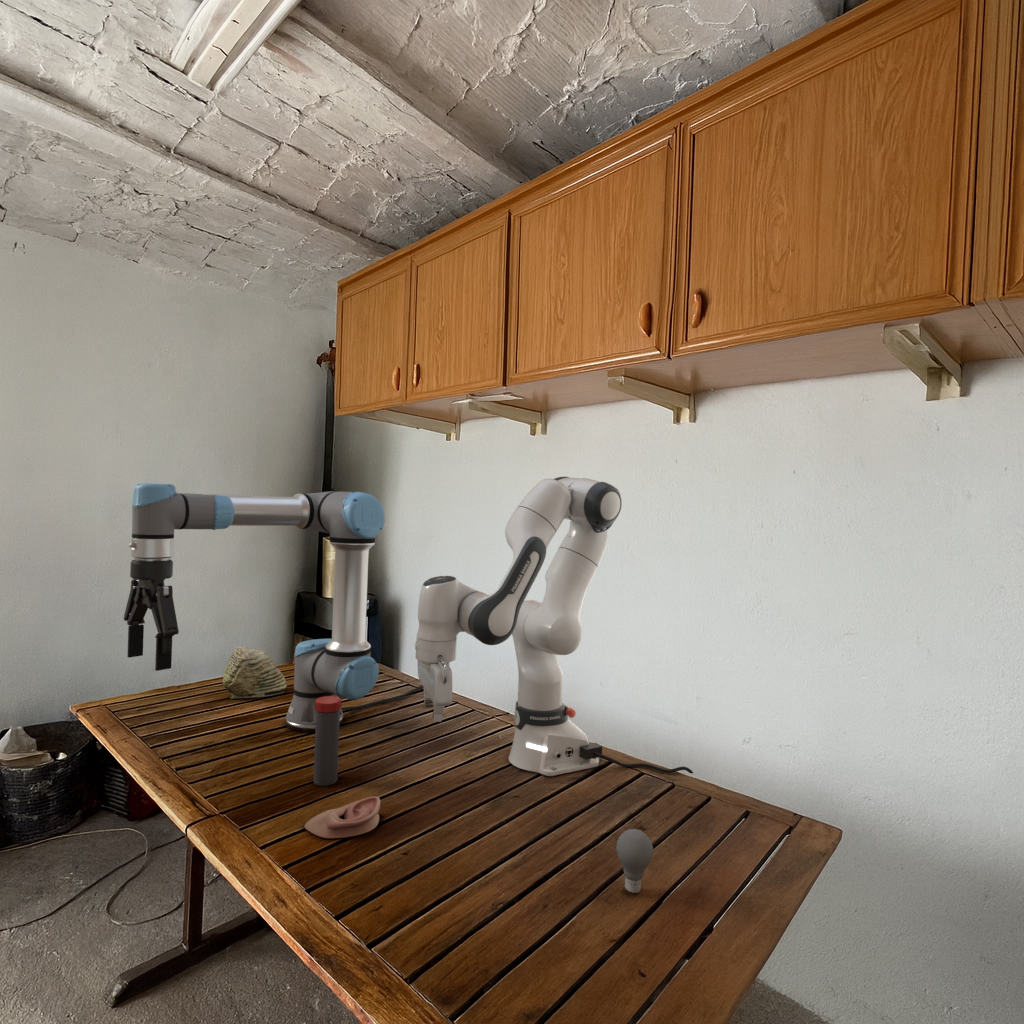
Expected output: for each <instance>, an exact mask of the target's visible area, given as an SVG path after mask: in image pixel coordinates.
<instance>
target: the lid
mask: <svg viewBox="0 0 1024 1024" xmlns="http://www.w3.org/2000/svg"><path fill="white" fill-rule="evenodd" d="M342 702H343V701H342V698H340V697H336V696H324V697H320V698H317V699H316V702H315V710H316V711H318V712H323V713H330V712H336V711H338V710H340V709H341V708H342V707H343V706H342Z"/></svg>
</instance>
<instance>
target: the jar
mask: <svg viewBox="0 0 1024 1024" xmlns="http://www.w3.org/2000/svg"><path fill="white" fill-rule="evenodd" d="M339 724H340V710H338V711H336V712H330V713H323V712H318V711H316V729H315V732H314V734H315V735H314V758H313V759H314V760H313V781H312V782H313V783H314V784H315V785H317V786H322V787H323V786H324V787H325V786H331V785H334V784H335V783H337V781H338V776H339V775H338V773H339V749H340V748H339V747H340V746H339V745H340V725H341V724H340V725H339Z"/></svg>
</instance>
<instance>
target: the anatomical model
mask: <svg viewBox="0 0 1024 1024" xmlns="http://www.w3.org/2000/svg"><path fill="white" fill-rule="evenodd" d="M380 808H381V799H380V797H379V796H368V797H364V798H361V799H358V800H356V801H353V802H350V803H348V804H345V805H343V806H341V807H337V808H333V809H328V810H325V811H323V812H320V813H319V814H317V815H315V816H313V817H312V818H310V819H309V820H308V821H306V822H305V824H304V828H305V830H306V831H307V832H310V833H311V834H312V835H315V836H317V837H319V838H321V839H322V838H323V839H341V838H342V839H343V838H350V837H355V836H359V835H364V834H365V833H366V834H367V833H369V832H371V831H373V830H374V829H375V828H376V827H377V826H378V825H379V822H380V815H379V811H380Z"/></svg>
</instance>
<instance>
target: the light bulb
mask: <svg viewBox="0 0 1024 1024" xmlns="http://www.w3.org/2000/svg"><path fill="white" fill-rule="evenodd" d="M615 849H616V854H617V857H618V859H619V861H620V863H621V865H622V867H623V873H624V874H623V875H624V876H625V878H624V888H625V890H627V891H628V892H630V893H634V894H635V893H639V892H640V891H641V889H642V887H641V886H642V879H643V877H644V875H645V871H646V868H647V867H648V866H649V864H650V863H651V861H652V859H653V855H654V847H653V843H652V841H651V838H649V836H648V835H647V834H646V833H645V832H643V831H642V830H641V829H636V828H629V829H627V830H625V831H623V832H622V833H621V834H620V835H619V837H618V839H617V841H616V847H615Z"/></svg>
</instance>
